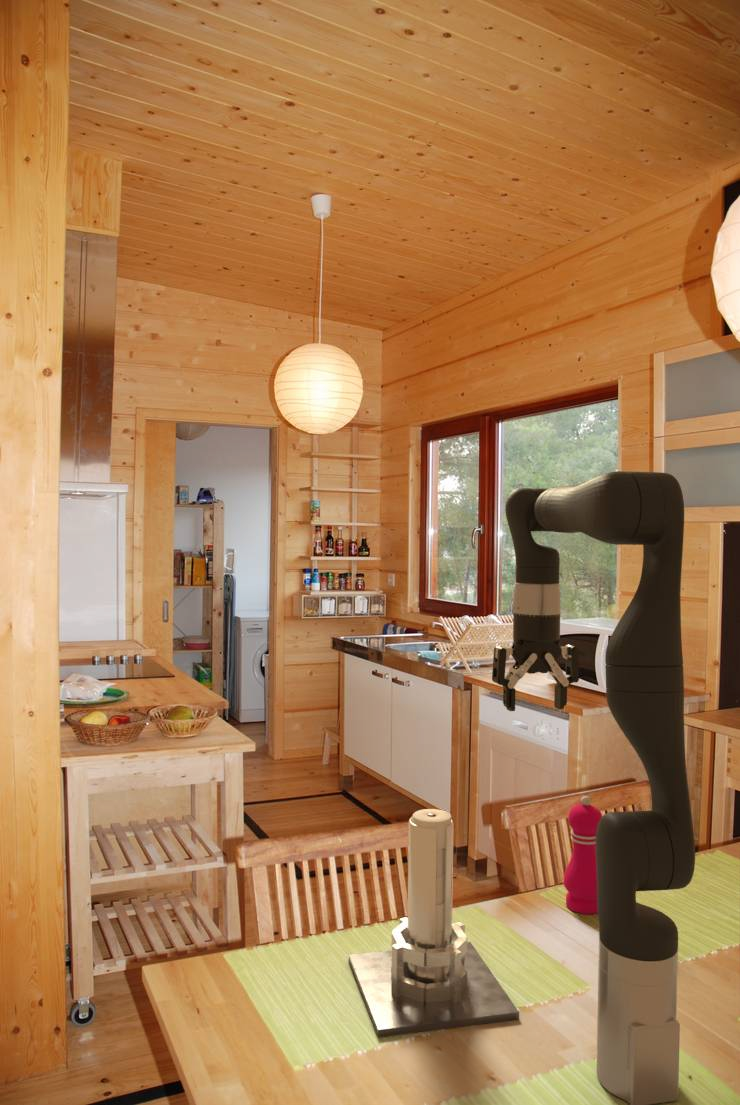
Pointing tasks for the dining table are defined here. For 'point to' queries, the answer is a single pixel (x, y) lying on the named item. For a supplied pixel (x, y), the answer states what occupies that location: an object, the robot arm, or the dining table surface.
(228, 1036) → the dining table surface
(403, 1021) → the collar stand
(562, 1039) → the dining table surface
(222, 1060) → the dining table surface
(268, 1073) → the dining table surface
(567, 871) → the pepper mill
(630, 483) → the robot arm
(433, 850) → the cream peg
